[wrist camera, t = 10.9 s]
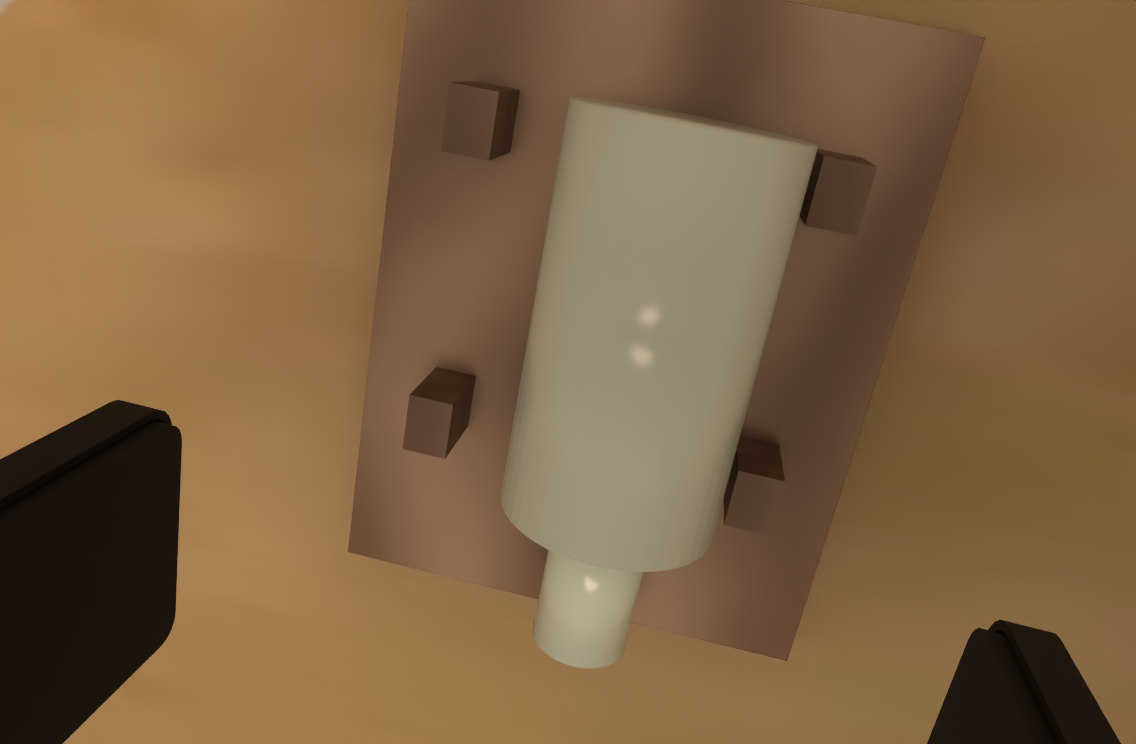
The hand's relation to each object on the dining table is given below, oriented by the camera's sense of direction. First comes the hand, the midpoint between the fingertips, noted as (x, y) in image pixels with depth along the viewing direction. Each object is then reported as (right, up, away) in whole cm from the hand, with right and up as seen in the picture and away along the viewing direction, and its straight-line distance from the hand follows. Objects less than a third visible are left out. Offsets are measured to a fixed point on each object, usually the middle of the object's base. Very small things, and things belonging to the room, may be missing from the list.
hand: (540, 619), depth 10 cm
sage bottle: (+2, +3, +15) cm, 15 cm away
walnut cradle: (+2, +4, +15) cm, 16 cm away
